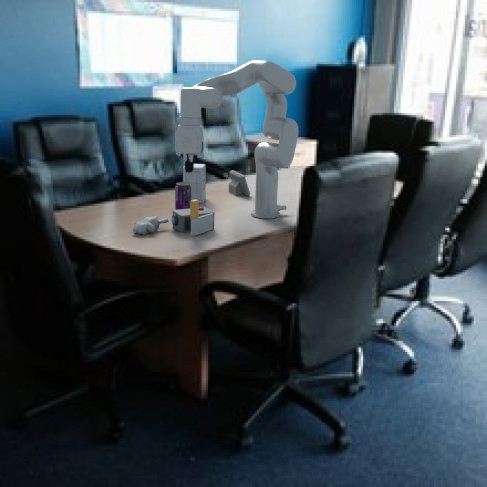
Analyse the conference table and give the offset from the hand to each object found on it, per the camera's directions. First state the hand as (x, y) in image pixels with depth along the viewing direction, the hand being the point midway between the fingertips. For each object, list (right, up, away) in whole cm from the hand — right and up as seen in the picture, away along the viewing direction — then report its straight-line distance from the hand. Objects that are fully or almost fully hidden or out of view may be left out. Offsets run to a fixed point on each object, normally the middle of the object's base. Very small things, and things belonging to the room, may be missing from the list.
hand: (189, 171), depth 216 cm
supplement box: (-3, -7, +57) cm, 58 cm away
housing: (0, -21, +13) cm, 25 cm away
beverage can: (-6, -12, +39) cm, 42 cm away
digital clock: (+18, -2, +75) cm, 77 cm away
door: (+5, -23, +7) cm, 24 cm away
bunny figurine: (-16, -22, +8) cm, 29 cm away
